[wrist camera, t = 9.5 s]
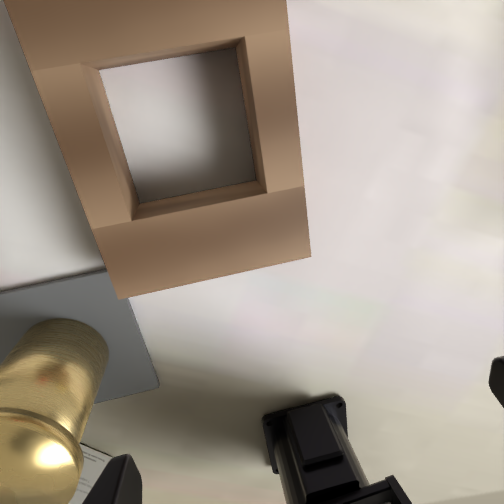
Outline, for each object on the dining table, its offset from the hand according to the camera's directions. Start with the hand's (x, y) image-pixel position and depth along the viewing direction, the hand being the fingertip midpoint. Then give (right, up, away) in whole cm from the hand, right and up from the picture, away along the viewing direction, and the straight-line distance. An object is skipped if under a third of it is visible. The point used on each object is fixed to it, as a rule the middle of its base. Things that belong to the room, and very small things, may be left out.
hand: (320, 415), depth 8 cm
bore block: (-5, +10, +9) cm, 14 cm away
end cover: (-13, -2, +12) cm, 18 cm away
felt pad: (-13, -2, +13) cm, 18 cm away
